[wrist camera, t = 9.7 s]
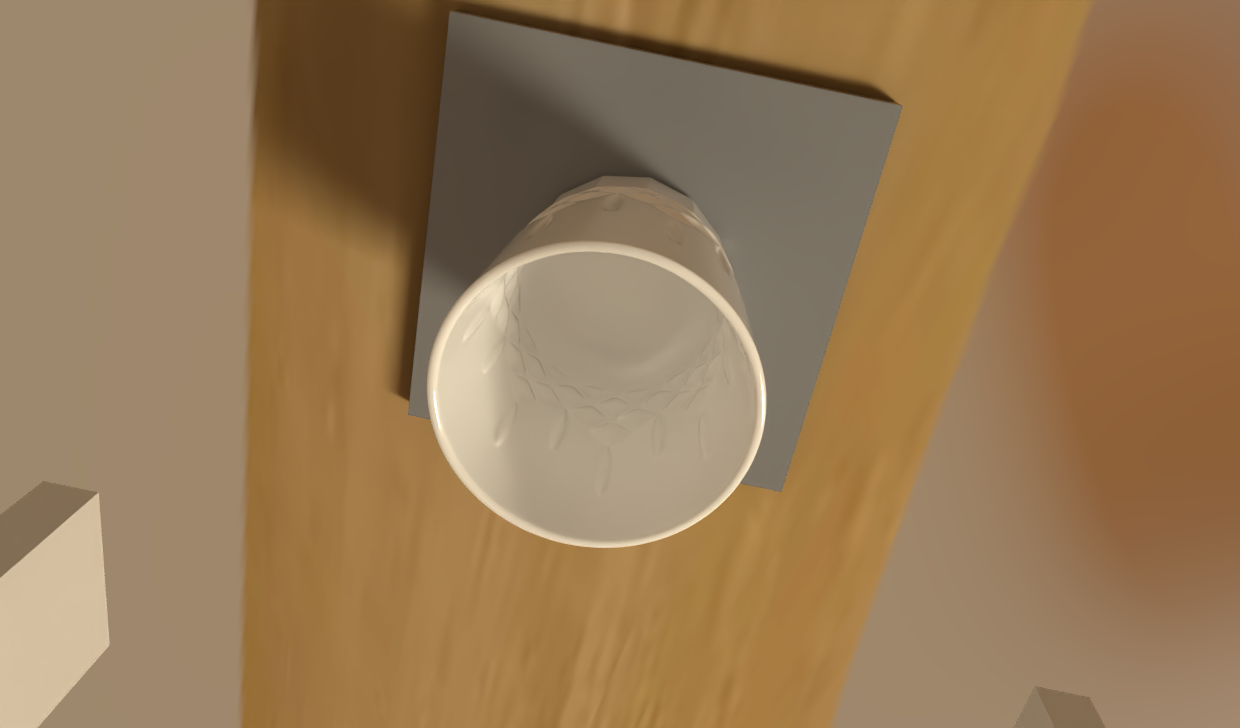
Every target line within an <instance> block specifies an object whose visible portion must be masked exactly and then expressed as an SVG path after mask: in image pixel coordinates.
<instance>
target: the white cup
mask: <svg viewBox="0 0 1240 728" xmlns="http://www.w3.org/2000/svg"><path fill="white" fill-rule="evenodd" d="M427 401H428V409H429V414H430V419H431V423H432V427H433V430H434V433H435V436H436V438H437V441H438V443H439V446H440V448H441V450H442V452H443V454H444V456H445V458H446V459H447V461H448V463H449V464H450V466H451V468H452V469H453V471H454V472H455V473H456V475H457V476H458V477H459V479H460V480H461V481H462V482H463V484H464V485H465V486H466V487H467V488H468V489H469V490H470V491H471V492H472V493H473V494H474V495H475V496H476V497H477V498H478V499H479V500H480V501H481V502H482V503H483V504H484V505H486V506H487V507H488V508H489V509H491V510H492V511H493V512H495V513H496V514H498V515H499V516H501V517H502V518H504V519H505V520H507V521H509V522H510V523H512V524H514V525H516V526H518V527H520V528H522V529H524V530H526V531H528V532H530V533H533V534H535V535H538V536H540V537H543V538H546V539H549V540H553V541H557V542H561V543H565V544H570V545H576V546H583V547H595V548H615V547H627V546H634V545H639V544H644V543H649V542H652V541H656V540H659V539H662V538H665V537H668V536H671V535H673V534H675V533H678V532H680V531H682V530H684V529H686V528H688V527H690V526H692V525H693V524H695V523H697V522H698V521H700V520H701V519H703V518H704V517H706V516H707V515H708V514H710V513H711V512H712V511H714V510H715V509H716V508H717V507H718V506H719V505H720V504H722V503H723V502H724V501H725V500H726V499H727V498H728V497H729V495H730V494H731V493H732V492H733V491H734V490H735V489H736V487H737V486H738V485H739V483H740V482H741V481H742V479H743V478H744V476H745V474H746V473H747V471H748V469H749V468H750V466H751V464H752V462H753V460H754V457H755V455H756V453H757V450H758V448H759V445H760V441H761V438H762V434H763V430H764V425H765V418H766V385H765V378H764V373H763V368H762V364H761V361H760V357H759V354H758V351H757V347H756V344H755V341H754V337H753V333H752V330H751V326H750V322H749V319H748V315H747V312H746V308H745V304H744V301H743V298H742V295H741V292H740V289H739V286H738V284H737V281H736V279H735V276H734V273H733V270H732V267H731V264H730V262H729V260H728V258H727V256H726V254H725V252H724V250H723V248H722V243H721V239H720V237H719V235H718V234H717V232H716V231H715V230H714V228H713V227H712V226H711V224H710V223H709V221H708V220H707V219H706V217H705V216H704V215H703V213H702V212H701V210H700V209H699V208H698V206H697V205H696V204H695V202H694V201H693V200H692V199H691V198H689V197H687V196H685V195H683V194H681V193H679V192H677V191H676V190H674V189H672V188H670V187H668V186H666V185H664V184H662V183H660V182H659V181H657V180H655V179H653V178H651V177H629V176H601V177H599V178H597V179H594V180H592V181H590V182H588V183H585V184H583V185H581V186H579V187H576V188H574V189H572V190H569V191H567V192H565V193H563V194H561V195H560V196H559V197H558V198H557V199H556V200H555V202H554V203H553V204H552V205H551V206H550V207H548V208H547V209H545V210H544V211H543V212H541V213H540V214H539V215H537V216H536V217H535V218H534V219H533V220H532V221H531V222H530V223H529V224H528V225H527V226H526V227H525V228H524V229H522V230H521V231H520V232H519V233H518V234H517V235H516V236H515V237H514V238H513V239H512V241H511V242H510V243H509V244H508V245H507V246H506V247H505V248H504V249H503V250H502V251H501V253H500V254H499V255H498V256H497V257H496V258H495V259H494V260H493V261H492V262H491V264H490V265H489V266H488V267H487V268H486V269H485V270H484V271H483V272H482V273H481V275H480V276H479V277H478V278H477V279H476V280H475V281H474V282H473V283H472V284H471V285H470V286H469V287H468V288H467V290H466V291H465V292H464V293H463V294H462V295H461V296H460V297H459V299H458V300H457V301H456V302H455V304H454V305H453V306H452V308H451V309H450V311H449V312H448V314H447V316H446V317H445V319H444V321H443V323H442V325H441V327H440V329H439V331H438V333H437V336H436V338H435V341H434V344H433V347H432V351H431V355H430V360H429V365H428V373H427Z"/></svg>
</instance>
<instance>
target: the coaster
mask: <svg viewBox="0 0 1240 728" xmlns="http://www.w3.org/2000/svg"><path fill="white" fill-rule="evenodd" d="M901 110H902V105H900V104H899V103H897V102H892V101H887V100H882V99H877V98H873V97H868V96H863V95H858V94H854V93H849V92H844V91H839V90H834V89H830V88H825V87H820V86H815V85H811V84H806V83H801V82H796V81H791V80H787V79H782V78H777V77H772V76H768V75H763V74H758V73H753V72H749V71H744V70H739V69H734V68H729V67H725V66H720V65H715V64H710V63H706V62H701V61H696V60H691V59H686V58H682V57H677V56H672V55H667V54H663V53H658V52H653V51H648V50H643V49H639V48H634V47H629V46H624V45H620V44H615V43H610V42H605V41H600V40H596V39H591V38H586V37H581V36H577V35H572V34H567V33H562V32H558V31H553V30H548V29H543V28H538V27H534V26H529V25H524V24H519V23H515V22H510V21H505V20H500V19H495V18H491V17H486V16H481V15H476V14H472V13H467V12H462V11H457V10H454V11H450V12H449V22H448V32H447V42H446V51H445V61H444V71H443V80H442V90H441V100H440V109H439V119H438V129H437V139H436V148H435V158H434V168H433V177H432V187H431V197H430V206H429V216H428V226H427V236H426V245H425V255H424V265H423V274H422V284H421V294H420V303H419V313H418V323H417V333H416V342H415V352H414V362H413V371H412V381H411V391H410V401H409V410H408V415H411V416H416V417H421V418H426V419H430V414H429V409H428V401H427V373H428V365H429V360H430V355H431V351H432V347H433V344H434V341H435V338H436V336H437V333H438V331H439V329H440V327H441V325H442V323H443V321H444V319H445V317H446V316H447V314H448V312H449V311H450V309H451V308H452V306H453V305H454V304H455V302H456V301H457V300H458V299H459V297H460V296H461V295H462V294H463V293H464V292H465V291H466V290H467V288H468V287H469V286H470V285H471V284H472V283H473V282H474V281H475V280H476V279H477V278H478V277H479V276H480V275H481V273H482V272H483V271H484V270H485V269H486V268H487V267H488V266H489V265H490V264H491V262H492V261H493V260H494V259H495V258H496V257H497V256H498V255H499V254H500V253H501V251H502V250H503V249H504V248H505V247H506V246H507V245H508V244H509V243H510V242H511V241H512V239H513V238H514V237H515V236H516V235H517V234H518V233H519V232H520V231H521V230H522V229H524V228H525V227H526V226H527V225H528V224H529V223H530V222H531V221H532V220H533V219H534V218H535V217H536V216H537V215H539V214H540V213H541V212H543V211H544V210H545V209H547V208H548V207H550V206H551V205H552V204H553V203H554V202H555V200H556V199H557V198H558V197H559V196H560V195H561V194H563V193H565V192H567V191H569V190H572V189H574V188H576V187H579V186H581V185H583V184H585V183H588V182H590V181H592V180H594V179H597V178H599V177H601V176H629V177H651V178H653V179H655V180H657V181H659V182H660V183H662V184H664V185H666V186H668V187H670V188H672V189H674V190H676V191H677V192H679V193H681V194H683V195H685V196H687V197H689V198H691V199H692V200H693V201H694V202H695V204H696V205H697V206H698V208H699V209H700V210H701V212H702V213H703V215H704V216H705V217H706V219H707V220H708V221H709V223H710V224H711V226H712V227H713V228H714V230H715V231H716V232H717V234H718V235H719V237H720V239H721V243H722V248H723V250H724V252H725V254H726V256H727V258H728V260H729V262H730V264H731V267H732V270H733V273H734V276H735V279H736V281H737V284H738V286H739V289H740V292H741V295H742V298H743V301H744V304H745V308H746V312H747V315H748V319H749V322H750V326H751V330H752V333H753V337H754V341H755V344H756V347H757V351H758V354H759V357H760V361H761V364H762V368H763V373H764V378H765V385H766V418H765V425H764V430H763V434H762V438H761V441H760V445H759V448H758V450H757V453H756V455H755V457H754V460H753V462H752V464H751V466H750V468H749V469H748V471H747V473H746V474H745V476H744V478H743V479H742V481H741V482H740V483H741V484H745V485H750V486H755V487H760V488H765V489H770V490H774V491H779V492H782V488H783V485H784V482H785V479H786V476H787V472H788V469H789V466H790V463H791V460H792V457H793V453H794V450H795V447H796V444H797V441H798V437H799V434H800V431H801V428H802V425H803V422H804V418H805V415H806V412H807V409H808V406H809V402H810V399H811V396H812V393H813V390H814V387H815V383H816V380H817V377H818V374H819V371H820V367H821V364H822V361H823V358H824V355H825V352H826V348H827V345H828V342H829V339H830V336H831V332H832V329H833V326H834V323H835V320H836V317H837V313H838V310H839V307H840V304H841V301H842V297H843V294H844V291H845V288H846V285H847V282H848V278H849V275H850V272H851V269H852V266H853V262H854V259H855V256H856V253H857V250H858V247H859V243H860V240H861V237H862V234H863V231H864V227H865V224H866V221H867V218H868V215H869V211H870V208H871V205H872V202H873V199H874V196H875V192H876V189H877V186H878V183H879V180H880V176H881V173H882V170H883V167H884V164H885V161H886V157H887V154H888V151H889V148H890V145H891V141H892V138H893V135H894V132H895V129H896V126H897V122H898V119H899V116H900V113H901Z"/></svg>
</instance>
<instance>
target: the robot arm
mask: <svg viewBox="0 0 1240 728" xmlns="http://www.w3.org/2000/svg"><path fill="white" fill-rule="evenodd" d="M102 549H103V548H102V534H101V521H100V508H99V493H98V492H94V491H89V490H84V489H79V488H74V487H69V486H65V485H60V484H55V483H50V482H45V481H43V482H42V483H41V484H39V485H38V486H37V487H35V488H34V489H33V490H32V491H30V492H29V493H28V494H26V495H25V496H24V497H23V498H21V499H20V500H19V501H17V502H16V503H15V504H14V505H12V506H11V507H10V508H9V509H7V510H6V511H5V512H3V513H2V514H1V515H0V728H37V727H38V726H39V725H40V724H41V723H42V722H43V721H44V719H45V718H46V717H47V716H48V715H49V714H50V712H51V711H52V710H53V709H54V708H55V707H56V706H57V704H58V703H59V702H60V701H61V700H62V699H63V698H64V697H65V695H66V694H67V693H68V692H69V691H70V690H71V688H72V687H73V686H74V685H75V684H76V683H77V682H78V680H79V679H80V678H81V677H82V676H83V675H84V674H85V672H86V671H87V670H88V669H89V668H90V667H91V666H92V664H93V663H94V662H95V661H96V660H97V659H98V658H99V656H100V655H101V654H102V653H103V652H104V651H105V650H106V648H107V647H108V646H109V631H108V618H107V603H106V589H105V575H104V563H103V550H102ZM1014 728H1106V727H1105V725H1104V724H1103V722H1102V720H1101V718H1100V716H1099V714H1098V712H1097V711H1096V709H1095V707H1094V705H1093V703H1092V701H1091V699H1090V698H1089V697H1085V696H1079V695H1074V694H1070V693H1065V692H1060V691H1056V690H1051V689H1046V688H1041V687H1036V686H1035V688H1034V689H1033V691H1032V693H1031V695H1030V697H1029V699H1028V701H1027V703H1026V705H1025V707H1024V709H1023V711H1022V712H1021V714H1020V717H1019V718H1018V720H1017V722H1016V724H1015V726H1014Z"/></svg>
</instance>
